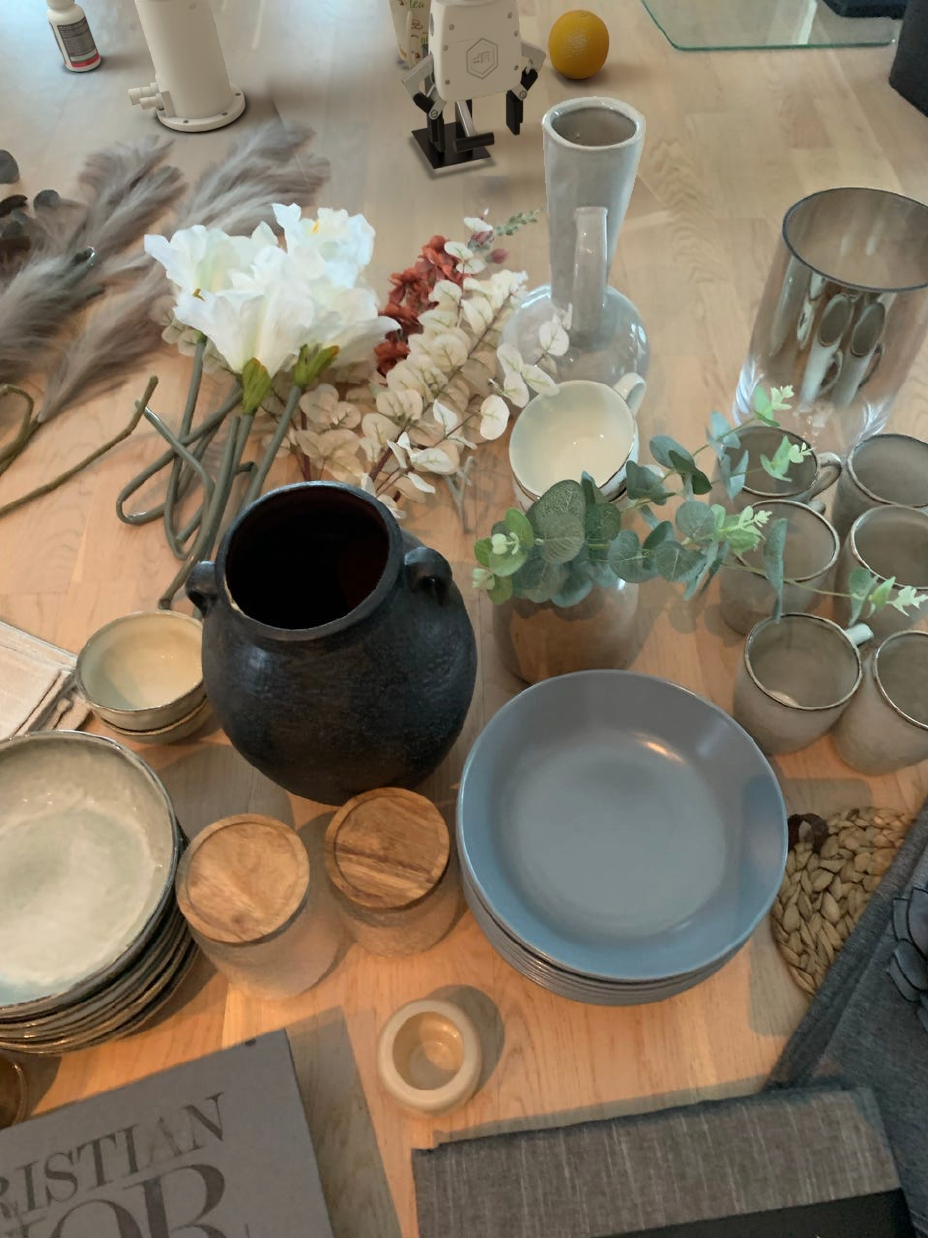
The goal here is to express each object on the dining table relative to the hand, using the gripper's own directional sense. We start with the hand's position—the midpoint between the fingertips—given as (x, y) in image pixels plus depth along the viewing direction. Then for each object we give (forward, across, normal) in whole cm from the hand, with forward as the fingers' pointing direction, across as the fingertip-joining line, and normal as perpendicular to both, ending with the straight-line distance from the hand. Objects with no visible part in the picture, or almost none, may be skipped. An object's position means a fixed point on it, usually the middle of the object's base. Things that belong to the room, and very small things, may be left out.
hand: (476, 138), depth 106 cm
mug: (+7, +3, +34) cm, 35 cm away
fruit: (+7, +24, +23) cm, 34 cm away
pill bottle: (+6, -45, +55) cm, 72 cm away
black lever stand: (+7, 0, +10) cm, 12 cm away
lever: (-1, 0, +6) cm, 6 cm away
